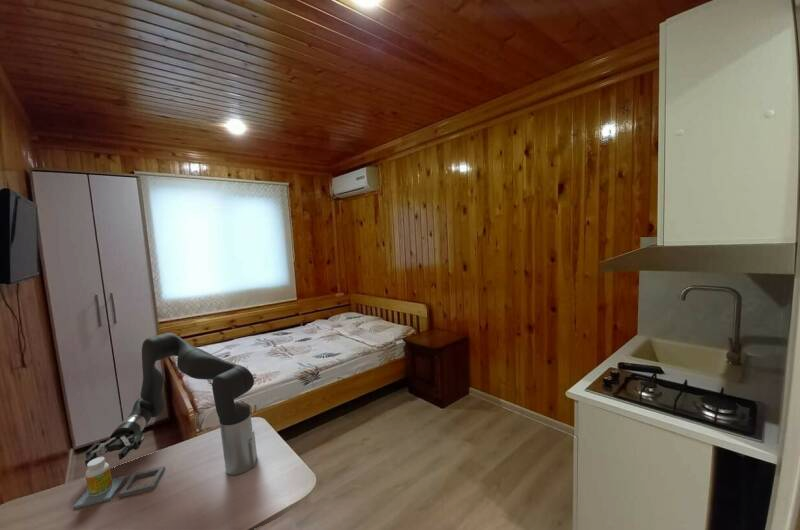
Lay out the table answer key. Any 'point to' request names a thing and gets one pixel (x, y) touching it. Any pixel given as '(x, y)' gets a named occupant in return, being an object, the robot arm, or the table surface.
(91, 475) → the supplement bottle
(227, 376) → the robot arm
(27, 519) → the table surface
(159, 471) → the collar
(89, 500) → the board
